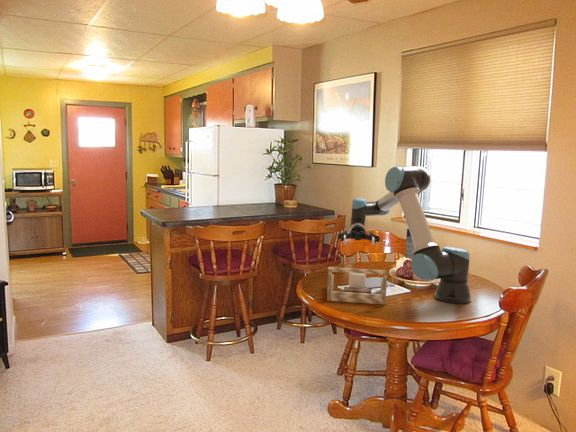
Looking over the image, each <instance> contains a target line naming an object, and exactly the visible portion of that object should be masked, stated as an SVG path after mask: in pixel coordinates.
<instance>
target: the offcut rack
mask: <svg viewBox="0 0 576 432" xmlns="http://www.w3.org/2000/svg"><path fill="white" fill-rule="evenodd" d="M333 272H334V273H335V272H336V273H348V274H349V273H364V274H366V275H367V274H368V275H370V274H371V275H380V276H381V275H382V277H380V278H381V287H380V293H379V294H378V293H371V294H367V293H352V292H341V291H335V290H334V285H335V284H334V283H335V281H334V280H335V274H333ZM387 281H388V270H385V269H384V270H383V269H370V268H369V269H368V268H367V269H366V268H365V269H364V268H354V267H353V268H351V267H350V268H348V267H332V266H331V267H330V266H328V268H327V290H326V292H327V294H326V295H327V296H326V301H329V302H331V301H332V302H345V303H346V302H347V303H358V304H359V303H361V304H371V305H372V304H373V305H377V304H378V305H386V300H387V287H386V285H387Z"/></svg>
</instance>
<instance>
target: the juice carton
mask: <svg viewBox="0 0 576 432" xmlns="http://www.w3.org/2000/svg"><path fill="white" fill-rule="evenodd" d="M405 240H406V241H405V242H406V244H405V258H409V259H412V258H413V256H414V255H413V252H414V250H415V246H414V243H413V240H412V237H411V234H410V231H409V228H408V227H407V228H406V239H405ZM405 258H404V259H405Z"/></svg>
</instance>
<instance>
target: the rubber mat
mask: <svg viewBox="0 0 576 432" xmlns="http://www.w3.org/2000/svg"><path fill="white" fill-rule="evenodd" d="M388 286H390V287H395V284H393V283H392V282H390V281H388V280H387V285H386V288H387V287H388ZM365 288H367V289H369V288H370V289H378V288H380V289H381V277H379V276H375V277H374V276H371V277H366V281H365ZM388 288H389V287H388Z"/></svg>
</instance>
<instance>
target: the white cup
mask: <svg viewBox="0 0 576 432" xmlns="http://www.w3.org/2000/svg"><path fill="white" fill-rule="evenodd" d="M366 278H367V274H364V273H348V287H354V288H366V287H365V281H366Z"/></svg>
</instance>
